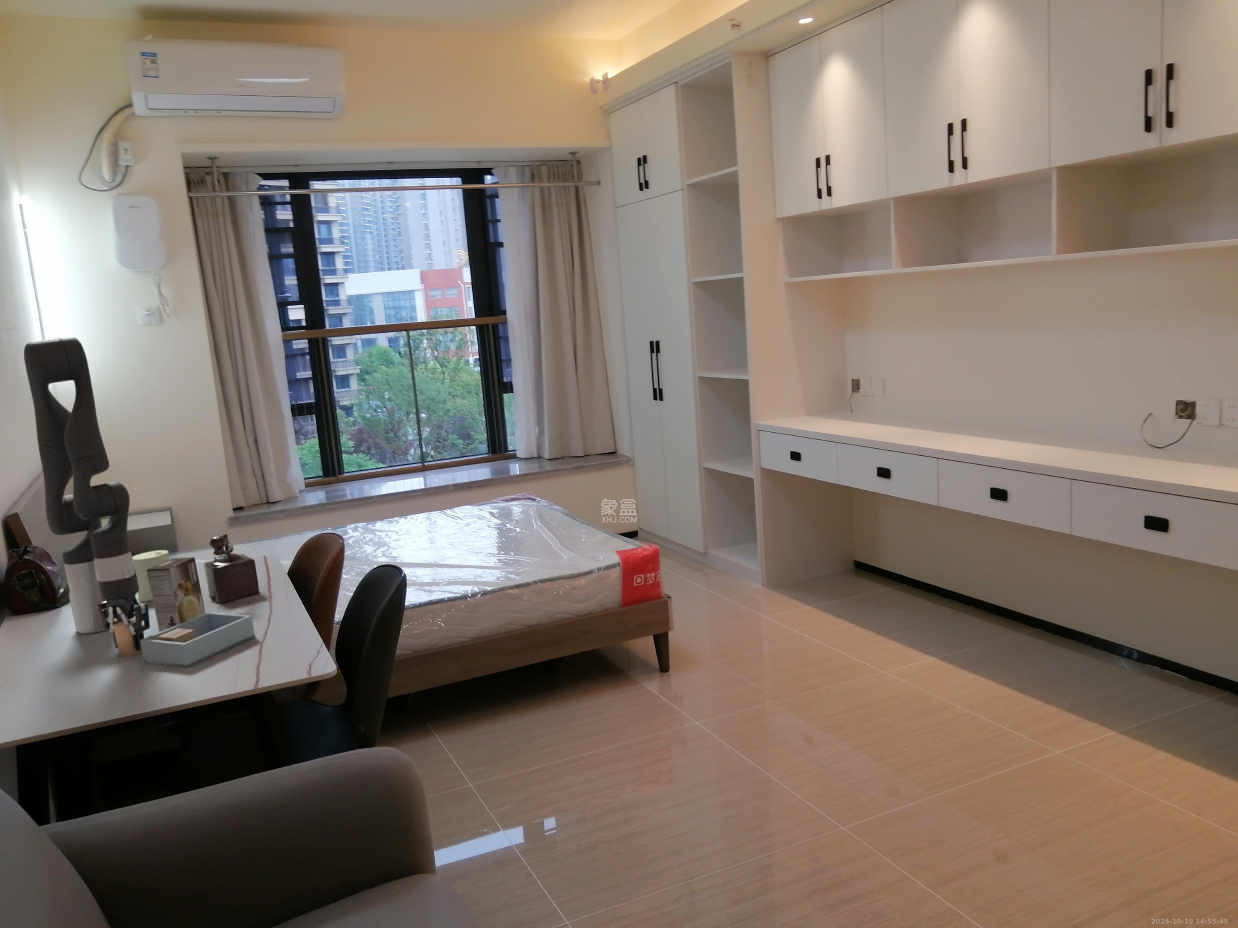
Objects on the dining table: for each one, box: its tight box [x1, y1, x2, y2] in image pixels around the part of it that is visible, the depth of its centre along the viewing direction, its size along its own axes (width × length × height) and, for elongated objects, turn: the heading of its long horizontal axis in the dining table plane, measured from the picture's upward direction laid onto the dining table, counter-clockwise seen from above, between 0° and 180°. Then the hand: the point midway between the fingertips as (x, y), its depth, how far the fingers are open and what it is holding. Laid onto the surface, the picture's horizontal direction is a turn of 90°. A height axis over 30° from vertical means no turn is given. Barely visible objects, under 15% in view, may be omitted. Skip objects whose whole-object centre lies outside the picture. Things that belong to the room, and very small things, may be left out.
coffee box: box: [147, 556, 207, 633], centre depth 217 cm, size 9×6×16 cm
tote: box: [140, 611, 256, 668], centre depth 201 cm, size 14×18×5 cm
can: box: [132, 549, 170, 602], centre depth 250 cm, size 9×9×12 cm
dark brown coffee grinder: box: [203, 533, 260, 604], centre depth 239 cm, size 16×11×18 cm
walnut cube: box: [158, 628, 196, 643], centre depth 197 cm, size 5×5×5 cm
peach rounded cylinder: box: [113, 618, 143, 658], centre depth 204 cm, size 5×5×7 cm
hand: (130, 647), depth 204 cm, fingers open, 5 cm apart
